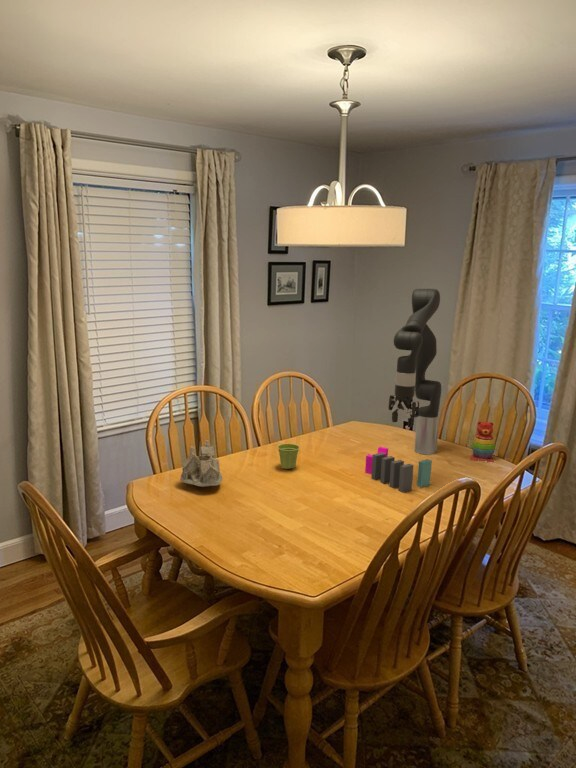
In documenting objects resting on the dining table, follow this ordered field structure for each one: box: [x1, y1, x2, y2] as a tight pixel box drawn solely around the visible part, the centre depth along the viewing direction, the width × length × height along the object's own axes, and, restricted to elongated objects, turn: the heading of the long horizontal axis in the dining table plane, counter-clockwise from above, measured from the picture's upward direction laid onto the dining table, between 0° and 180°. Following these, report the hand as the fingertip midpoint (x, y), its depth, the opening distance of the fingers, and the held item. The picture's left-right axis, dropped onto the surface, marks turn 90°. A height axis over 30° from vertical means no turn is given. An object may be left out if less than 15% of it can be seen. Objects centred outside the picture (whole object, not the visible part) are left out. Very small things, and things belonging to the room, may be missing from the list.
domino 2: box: [379, 455, 396, 485], centre depth 220 cm, size 2×5×10 cm, turn 124°
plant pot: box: [276, 443, 300, 470], centre depth 234 cm, size 9×9×9 cm
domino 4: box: [398, 463, 415, 493], centre depth 212 cm, size 2×5×10 cm, turn 124°
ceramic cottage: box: [180, 439, 223, 488], centre depth 215 cm, size 16×16×15 cm
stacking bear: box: [469, 421, 496, 463], centre depth 247 cm, size 11×10×18 cm
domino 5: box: [416, 458, 433, 488], centre depth 217 cm, size 2×5×10 cm, turn 124°
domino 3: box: [388, 459, 405, 489], centre depth 216 cm, size 2×5×10 cm, turn 124°
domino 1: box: [371, 453, 386, 481], centre depth 224 cm, size 2×5×10 cm, turn 123°
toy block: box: [364, 446, 389, 475], centre depth 234 cm, size 15×6×8 cm, turn 149°
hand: (402, 424), depth 218 cm, fingers open, 8 cm apart
